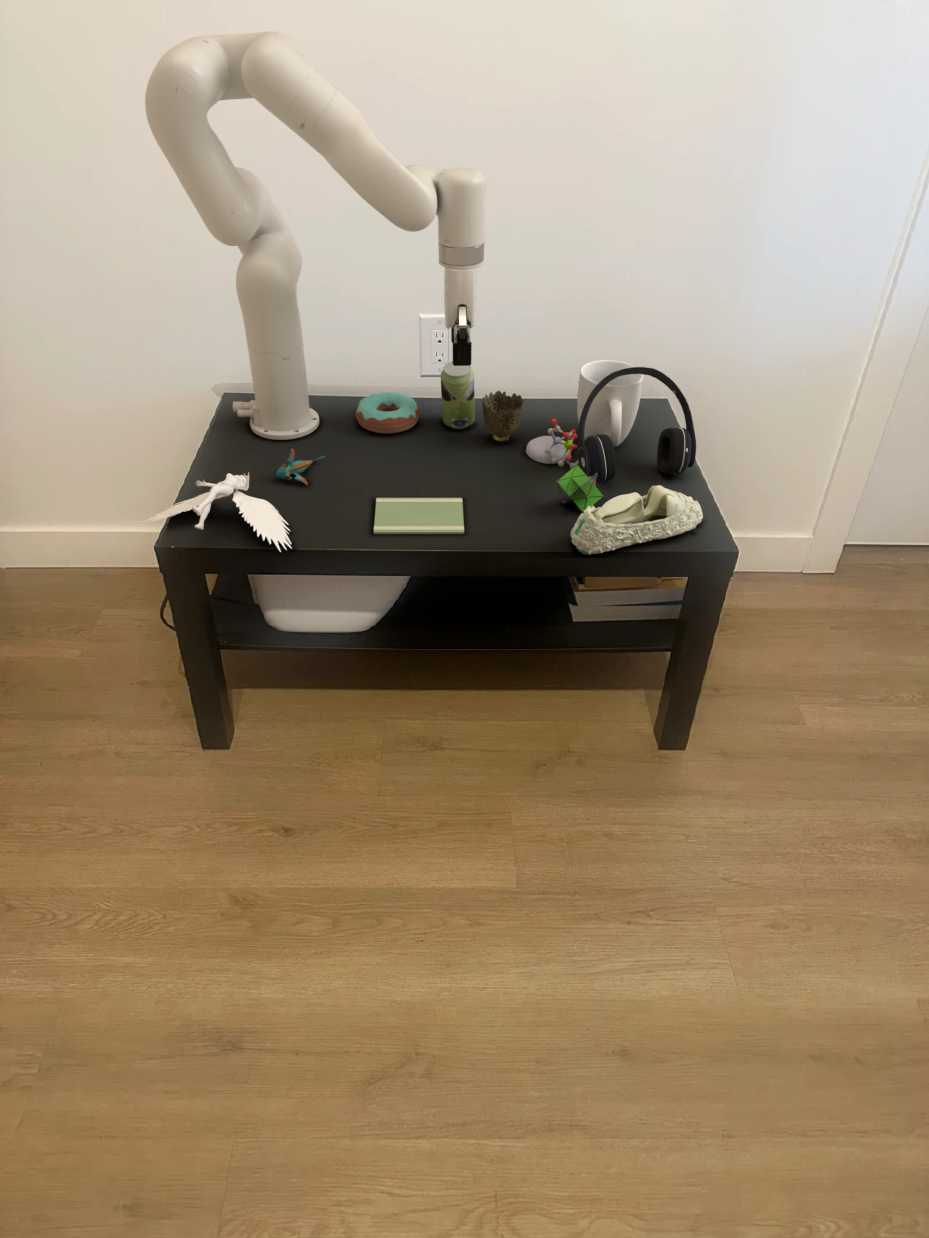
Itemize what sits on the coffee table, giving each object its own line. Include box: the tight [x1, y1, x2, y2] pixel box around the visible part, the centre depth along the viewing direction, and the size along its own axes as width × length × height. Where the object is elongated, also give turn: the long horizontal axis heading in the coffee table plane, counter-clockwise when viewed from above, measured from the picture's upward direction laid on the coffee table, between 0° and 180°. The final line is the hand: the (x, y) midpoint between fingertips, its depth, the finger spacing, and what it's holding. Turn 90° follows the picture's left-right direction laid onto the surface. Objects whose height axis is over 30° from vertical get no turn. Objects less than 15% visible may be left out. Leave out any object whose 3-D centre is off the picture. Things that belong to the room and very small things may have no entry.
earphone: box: [576, 366, 697, 484], centre depth 146 cm, size 20×7×18 cm
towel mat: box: [373, 497, 465, 535], centre depth 138 cm, size 14×10×1 cm
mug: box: [576, 359, 644, 448], centre depth 153 cm, size 15×11×13 cm
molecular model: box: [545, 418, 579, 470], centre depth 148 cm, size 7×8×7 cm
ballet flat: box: [570, 484, 704, 556], centre depth 133 cm, size 9×24×8 cm, turn 120°
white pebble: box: [525, 435, 572, 465], centre depth 154 cm, size 8×8×2 cm
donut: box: [355, 391, 421, 435], centre depth 161 cm, size 12×12×4 cm
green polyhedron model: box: [556, 463, 605, 514], centre depth 139 cm, size 7×7×8 cm
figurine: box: [137, 472, 293, 553], centre depth 132 cm, size 12×25×14 cm
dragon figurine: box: [276, 447, 326, 486], centre depth 147 cm, size 7×7×8 cm
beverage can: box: [440, 360, 476, 430], centre depth 158 cm, size 6×7×12 cm
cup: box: [481, 390, 525, 445], centre depth 155 cm, size 8×7×8 cm
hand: (461, 353), depth 153 cm, fingers open, 9 cm apart
